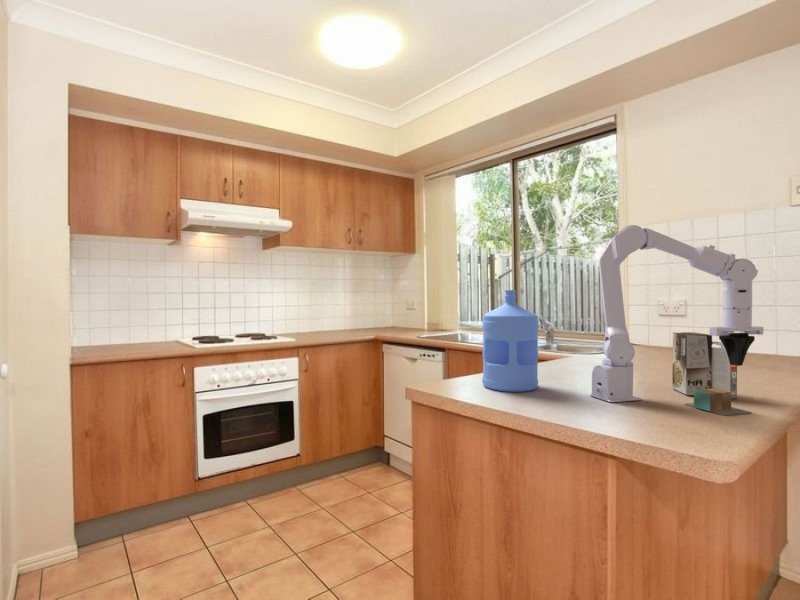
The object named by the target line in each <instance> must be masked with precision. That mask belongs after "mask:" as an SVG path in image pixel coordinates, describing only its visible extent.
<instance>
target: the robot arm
mask: <svg viewBox="0 0 800 600" xmlns="http://www.w3.org/2000/svg"><path fill="white" fill-rule="evenodd" d="M715 248H716V246H714V245H712V244H708V245H705V244H704V245H702V244H701V245H700V246H696V247H694V246H692V245H689V244H687V243H685V242H682V241H680V240H677V239H674V238H673V237H671V236H668V235H665V234H663V233H660V232H658V231H655V230H653V229H651V228H646V227H643V228H642V227H641V226H639V225H636V224H630V225H627V226H625V227H623V228H622V229H621V230H619V231H618V232H616V234H614V235H613V236H612V237H611V238H609V240H608V243H607V244H606V246H605V248H604V250H603V251H602V252H601V255H600V257H599V259H598V269H599V278H600V288H601V297H602V307H603V316H604V326H605V329H604V330H605V331H604V341H603V343H602V348H601V349H602V352H603V354H604V355H605V358H603V359H602V363H600V364H597V365H595V366H594V367H593V369H592V372H591V393H589V396H590V397H594V398H596V399H600V400H602V401H605V402H609V403H619V402H621V403H622V402H633V401H641V400H642V398H641V397H639V396H635V395H634V362H632V361H633V360H634V358H635V355H636V354H635V348H634V346H633V344H632V343H631V342H630V337H629V332H628V329H627V323H626V315H625V305H624V304H625V303H624V297H623V295H624V294H623V287H622V278H621V276H622V275H621V267H620V265H621V264H622V263H623V262H624V261H625V260H626V259H627V258H628V257H629V256H630V255H631V254H632V253H635V252H636V251H638V250H639V249H640V251H642V250H643V251H645V250H651V249H655V250H659V251H662V252H664V253H667V254H671V255H673V256H677V257H679V258H682V259H685V260H687V261H688V263H689V265H690V267H691V268H694V269H696V270H699V271H702V272H705V273H706V274H709V275H713V276H715V277H719V279H721V280H722V281H723V282H722V309H721V310H722V312H721V313H722V315H721V316H722V317H721V318H722V321H721V322H722V323H721V326H711V327H709V331H708V332H709V333H708V335H712V337H718V339H719V341H720V342H722V343H723V345H724V347H725V349H726V352H727V355H728V358H729V362H730V365H736V366H737V367H740V366H743V364H744V362H745V359H746V355H747V353H748V350H749V348H750V347H751V345H752V344H753V343H754V341H755V336H753V335H759V336H760V335H761V336H762V335H764V326H761V325H760V326H759V325H758V326H757V325H753V323H752V322H753V319H752V318H753V280H754V279H756V277H757V276H758V273H759V270H758V269H757V268H756V265H755V264H754V263H753V261H751V260H750V259H747V258H736V254H734V253H729V254H728V253H726V252H723V251H720V250H717V249H715Z"/></svg>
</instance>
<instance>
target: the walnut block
mask: <svg viewBox="0 0 800 600" xmlns="http://www.w3.org/2000/svg"><path fill="white" fill-rule="evenodd" d="M731 393H732V392H729V391H724V390H720V389H701V390H694V395H693V403H694V407H693V408H695V407H696V409H698V408H700V409H699V410H702V409H704V410H703V411H705V410H707V411H706V412H709V411H716V410H728V409H731V407H732V399H731Z"/></svg>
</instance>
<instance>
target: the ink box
mask: <svg viewBox="0 0 800 600" xmlns="http://www.w3.org/2000/svg"><path fill="white" fill-rule="evenodd" d="M712 345H717V346H720V347H714V346H712V371H711V389H720V390H724V391H729V392H732V393H731V400H736V399H737V398H738V366H736V365H730V362H729V358H728V355H727V352H726V349H725V347H724V345H723V343H722V342H721V341H713V340H712Z"/></svg>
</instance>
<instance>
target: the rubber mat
mask: <svg viewBox="0 0 800 600" xmlns="http://www.w3.org/2000/svg"><path fill="white" fill-rule="evenodd" d="M684 405H685V406H687V407H692V408H696V407H694V402H690V403H689V402H687V403H684ZM696 409H698V410H703V411H706V412H710V413H714V414H717V415H720V416H726V417H727V416H735V415H736V416H737V415H745V414H746V415H747V414H752V411H750V410H745V409H742V408H737V407H733V406H731V409H728V410H716V411H707V410H704V409H700V408H696Z"/></svg>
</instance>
